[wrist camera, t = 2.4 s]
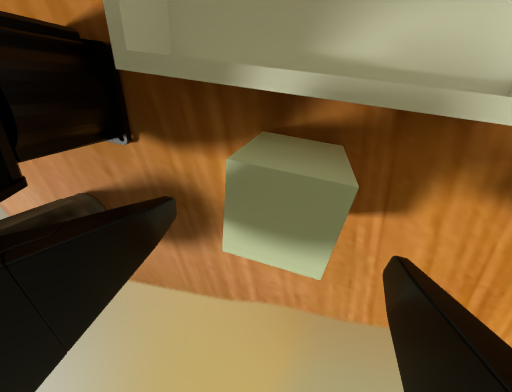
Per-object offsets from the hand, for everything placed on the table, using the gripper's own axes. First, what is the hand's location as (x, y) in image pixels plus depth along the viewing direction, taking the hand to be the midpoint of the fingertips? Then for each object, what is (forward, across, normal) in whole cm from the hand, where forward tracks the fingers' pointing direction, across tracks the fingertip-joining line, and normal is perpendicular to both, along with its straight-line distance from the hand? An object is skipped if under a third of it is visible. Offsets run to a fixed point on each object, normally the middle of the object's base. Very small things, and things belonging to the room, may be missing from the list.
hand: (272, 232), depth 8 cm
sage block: (+7, 0, 0) cm, 7 cm away
